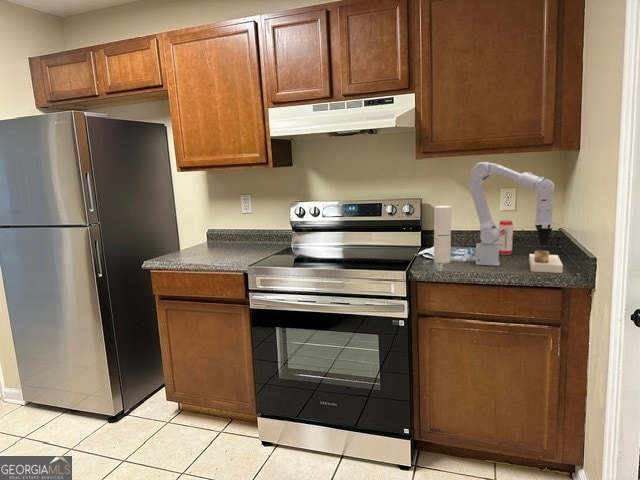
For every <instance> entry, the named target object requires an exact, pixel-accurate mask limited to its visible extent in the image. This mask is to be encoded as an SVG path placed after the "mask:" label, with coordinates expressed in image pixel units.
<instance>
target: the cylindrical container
mask: <svg viewBox="0 0 640 480" xmlns="http://www.w3.org/2000/svg"><path fill="white" fill-rule="evenodd" d="M433 208H434V209H433V210H434V211H433V213H434V214H433V215H434V216H433V218H434V219H433V221H434V222H433V223H434V225H433V230H434V231H433V263H435V264H449V263H451V245H452V244H451V240H452V239H451V238H452V237H451V235H452V231H451V230H452V206H450V205H436V206H433Z"/></svg>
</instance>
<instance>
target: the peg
mask: <svg viewBox="0 0 640 480" xmlns="http://www.w3.org/2000/svg"><path fill="white" fill-rule="evenodd" d="M534 254H535V257H534V261H535V262H540V263H547V262H549V255H550V251H548V250H534Z"/></svg>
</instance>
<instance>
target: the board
mask: <svg viewBox="0 0 640 480" xmlns="http://www.w3.org/2000/svg"><path fill="white" fill-rule="evenodd" d="M534 257H535V253H529V256H528V258H529V259H528V262H529V266H530V271H531V272H537V273H538V272H539V273H553V274H555V273H556V274H558V273H559V274H563V268H564V265H563V263H562V261H561V259H560V257H559V255H558V254H549V262H547V263H540V262H535V261H534Z"/></svg>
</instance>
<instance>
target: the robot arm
mask: <svg viewBox="0 0 640 480" xmlns="http://www.w3.org/2000/svg"><path fill="white" fill-rule="evenodd" d="M470 172H471V173H470V177H469V181H468V189H469V190H470V195H471V197H472V201H473V204H474V207H475V211H476V214H477V216H478V220H479V232H480V236H479V237H480V240H481V242H479V243H478V242H477V243H476V245H475V246H476V247H475V257H474V258H475V259H474V260H475V265H476V266H477V265H480V266H481V265H482V266H500V260H499V259H500V258H499V257H500V254H499V242H498V239H499V237H500V231H499V227H497V225H496V223H495V221H494V220H493V218H492V214H491V211H490V208H489V204H488V201H487V198H486V195H485V191H484V188H483V184H484V183H485V181H486V179H488V178H489V177H490V176H494V175H500V176H503V177H506V178H509V179H511V180H514V181H516V182H517V183H518V186H520V187H523V188H526V189H529V190H531V191H533V192H535V191H536V192H537V198H536V210H535V211H536V213H535V221H534V223H535V225H534V226H535V228H536V230H537V238H538V242H539V244H540V246H547V244H548V240H549V237H550V234H551V232H552V231H553V228H552V227H551V224H556V221H555V220H553V207H554V206H553V205H554V192H553V191H554V190H555V184H554V182H553V181H552V180H551V179H547V178H546V179H545V177H544V176H538V175H536V174H533V172H531V171H528V172H527V171H524V172H522V173H520V172H517V171H515V170H513V169H511V168H508V167H506V166H503V165H501V164H498V163H492V162H489V161H479V162H477V163H476V164H475V165H474V166H473V167H472V168H471V170H470Z"/></svg>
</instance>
